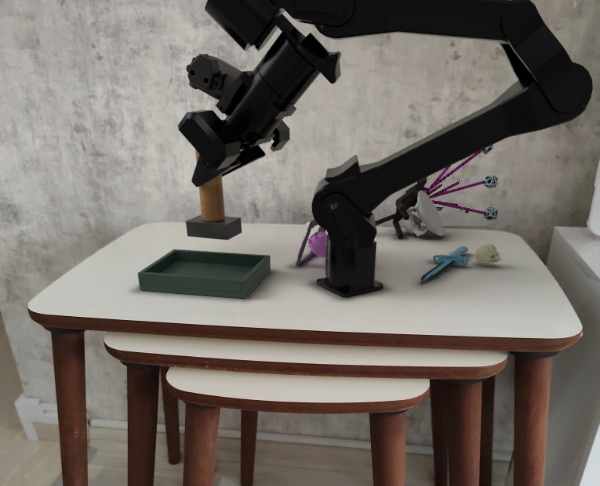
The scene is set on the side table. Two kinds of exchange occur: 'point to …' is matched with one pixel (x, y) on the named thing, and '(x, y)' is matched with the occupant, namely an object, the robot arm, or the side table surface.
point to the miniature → (424, 217)
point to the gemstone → (487, 254)
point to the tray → (205, 273)
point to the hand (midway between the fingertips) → (201, 181)
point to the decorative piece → (412, 193)
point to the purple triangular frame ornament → (313, 243)
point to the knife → (446, 262)
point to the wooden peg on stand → (213, 214)
